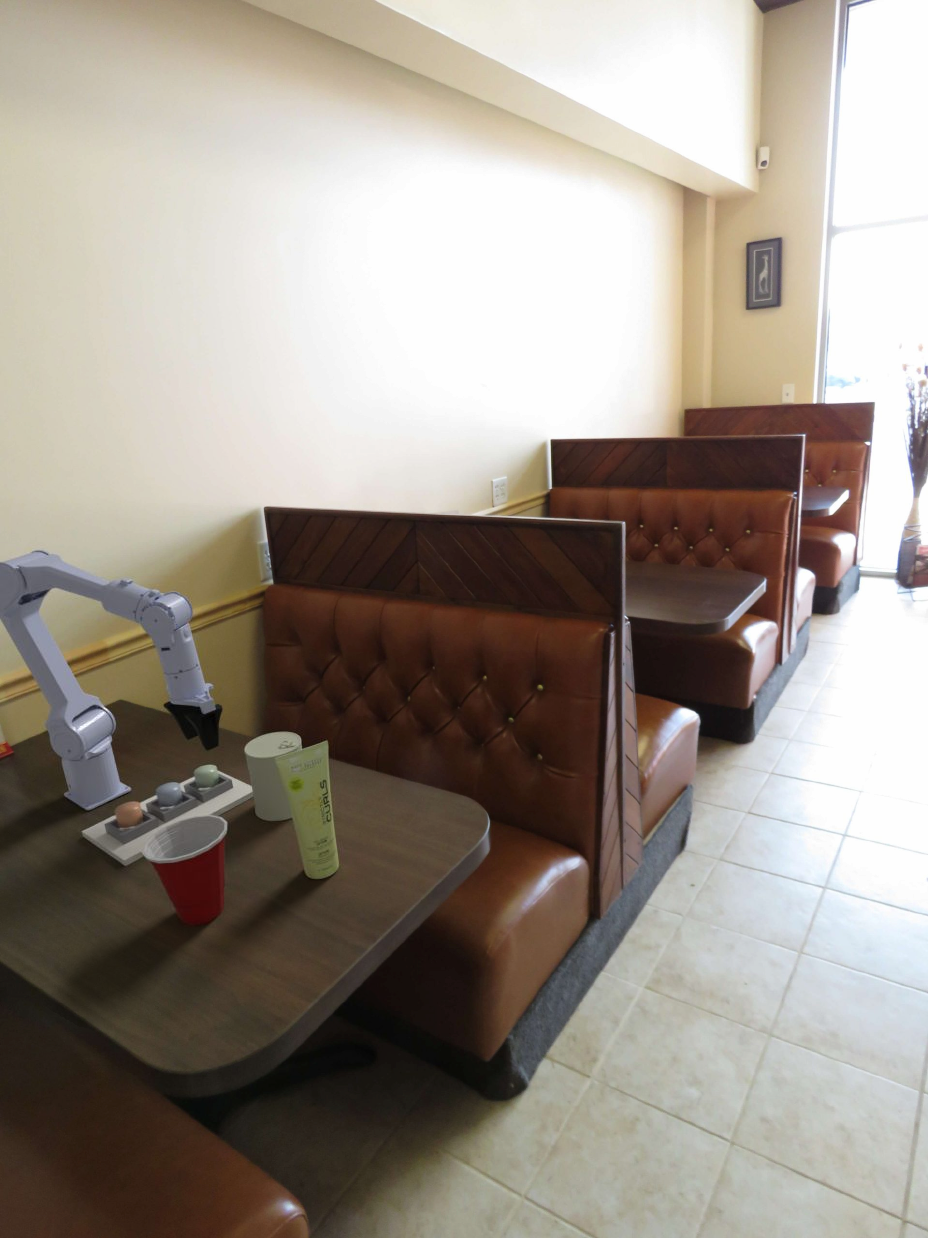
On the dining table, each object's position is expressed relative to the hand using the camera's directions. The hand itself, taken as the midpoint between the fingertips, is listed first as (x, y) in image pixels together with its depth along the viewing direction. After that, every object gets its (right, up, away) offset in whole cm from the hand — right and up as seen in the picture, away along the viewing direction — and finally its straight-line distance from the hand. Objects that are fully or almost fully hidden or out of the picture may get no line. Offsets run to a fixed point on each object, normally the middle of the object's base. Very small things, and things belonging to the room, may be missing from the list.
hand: (202, 742), depth 126 cm
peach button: (-9, -12, -6) cm, 16 cm away
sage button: (0, -8, +4) cm, 8 cm away
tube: (+23, -15, -18) cm, 33 cm away
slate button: (-5, -10, -1) cm, 11 cm away
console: (-5, -12, -1) cm, 13 cm away
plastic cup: (+9, -19, -25) cm, 32 cm away
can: (+14, -11, -1) cm, 17 cm away
